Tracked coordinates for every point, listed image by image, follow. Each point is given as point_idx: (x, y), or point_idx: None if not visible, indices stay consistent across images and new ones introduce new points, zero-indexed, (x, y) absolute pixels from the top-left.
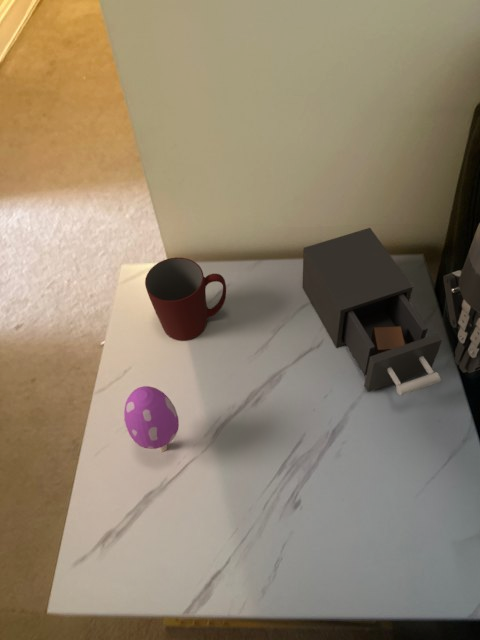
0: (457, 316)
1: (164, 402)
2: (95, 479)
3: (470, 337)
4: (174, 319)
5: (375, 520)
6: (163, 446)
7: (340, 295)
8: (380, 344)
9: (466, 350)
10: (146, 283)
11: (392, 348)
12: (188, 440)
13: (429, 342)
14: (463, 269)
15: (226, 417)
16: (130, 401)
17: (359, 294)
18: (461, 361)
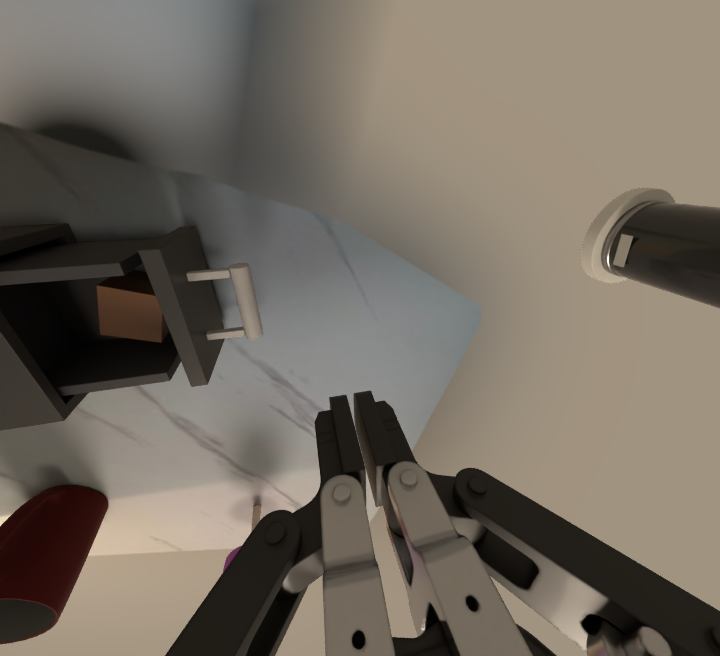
0: (289, 619)
1: None
2: None
3: (416, 630)
4: (83, 562)
5: (383, 364)
6: (259, 515)
7: (10, 414)
8: (148, 335)
9: (376, 505)
10: (14, 640)
11: (160, 319)
12: (253, 492)
13: (165, 278)
14: None
15: (232, 466)
16: None
17: (2, 382)
18: (362, 454)
